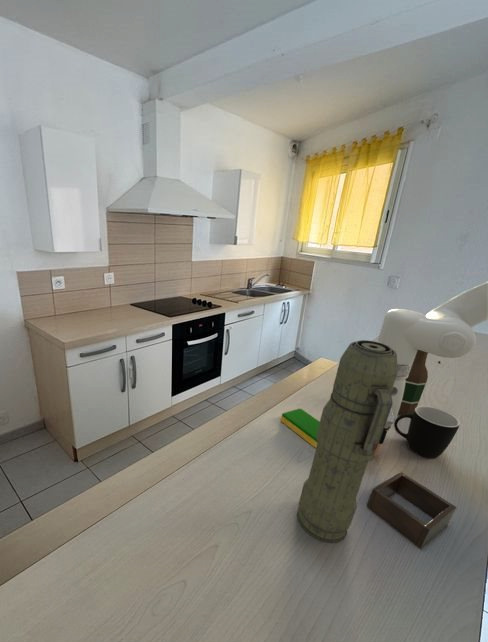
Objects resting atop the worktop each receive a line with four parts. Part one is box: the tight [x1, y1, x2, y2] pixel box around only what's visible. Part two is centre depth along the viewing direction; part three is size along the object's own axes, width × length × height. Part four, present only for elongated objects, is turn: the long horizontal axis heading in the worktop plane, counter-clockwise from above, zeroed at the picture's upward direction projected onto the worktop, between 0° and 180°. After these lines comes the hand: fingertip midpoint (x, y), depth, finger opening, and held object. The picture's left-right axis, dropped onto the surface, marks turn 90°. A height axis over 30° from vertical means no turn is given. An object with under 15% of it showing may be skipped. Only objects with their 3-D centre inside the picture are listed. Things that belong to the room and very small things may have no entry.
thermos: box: [296, 339, 398, 544], centre depth 53 cm, size 9×12×35 cm
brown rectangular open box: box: [366, 471, 457, 549], centre depth 61 cm, size 10×10×4 cm
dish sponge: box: [280, 408, 320, 449], centre depth 85 cm, size 7×14×2 cm, turn 28°
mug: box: [393, 405, 461, 459], centre depth 80 cm, size 12×9×10 cm
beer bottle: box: [398, 350, 429, 416], centre depth 94 cm, size 8×8×24 cm
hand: (369, 429), depth 78 cm, fingers open, 9 cm apart
